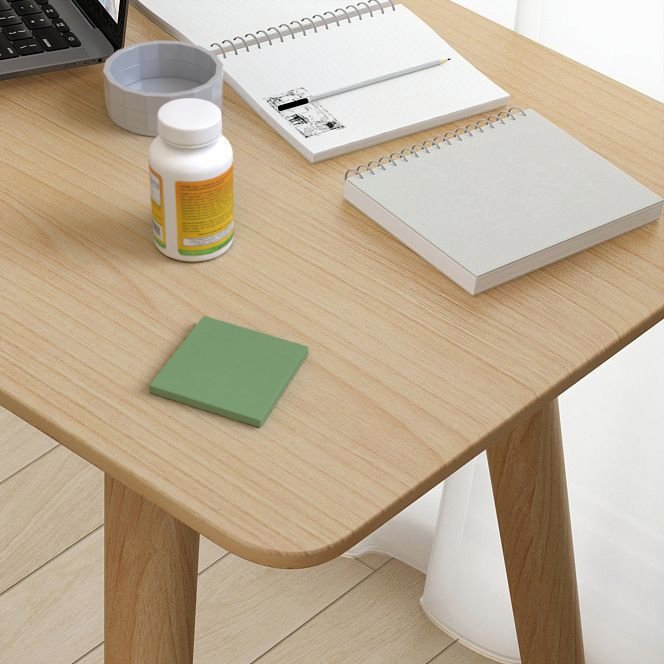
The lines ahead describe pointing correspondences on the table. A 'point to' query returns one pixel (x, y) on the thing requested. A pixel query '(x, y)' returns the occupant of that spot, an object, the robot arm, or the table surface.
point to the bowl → (158, 81)
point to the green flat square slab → (230, 371)
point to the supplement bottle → (191, 182)
